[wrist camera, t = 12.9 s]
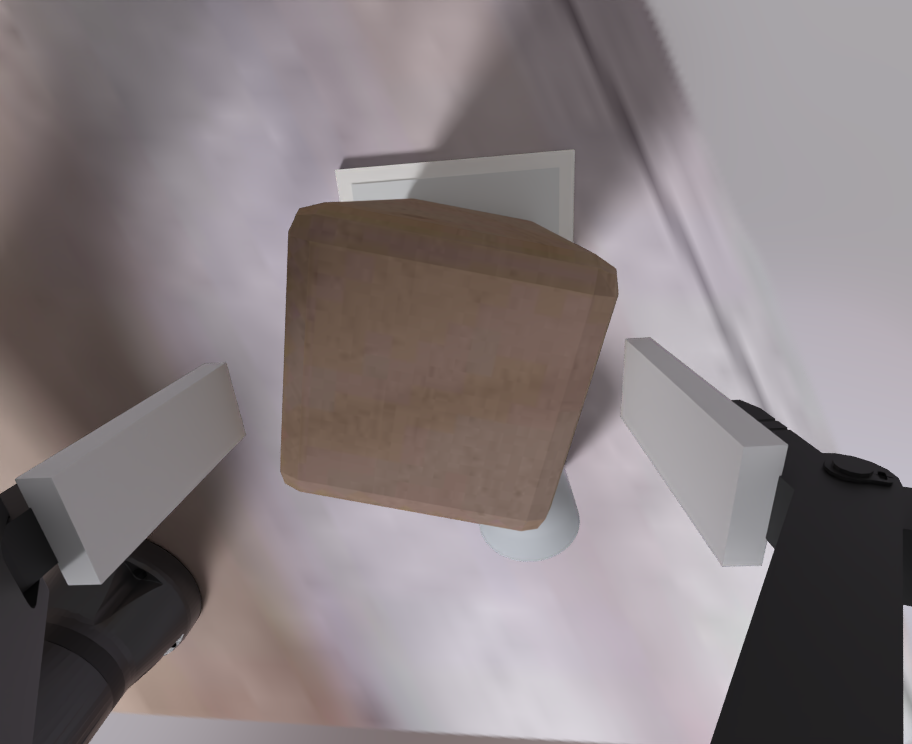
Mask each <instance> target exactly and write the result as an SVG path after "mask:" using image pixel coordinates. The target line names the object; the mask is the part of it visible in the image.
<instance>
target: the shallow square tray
mask: <svg viewBox="0 0 912 744" xmlns="http://www.w3.org/2000/svg"><path fill="white" fill-rule="evenodd" d="M574 173H575V149H571V150H559V151H548V152H536V153H525V154H513V155H501V156H490V157H478V158H467V159H455V160H444V161H432V162H420V163H409V164H397V165H386V166H374V167H363V168H351V169H339V170H335V174H336V181H337V187H338V193H339V200H340V202H346V201H367V200H389V199H410V198H414V199H419V200H424V201H430V202H435V203H440V204H445V205H450V206H456V207H461V208H466V209H471V210H477V211H482V212H487V213H492V214H497V215H503V216H508V217H513V218H518V219H524V220H529V221H532V222H534V223H536V224H538V225H540V226H542V227H544V228H546V229H548V230H550V231H552V232H554V233H556V234H557V235H559V236H561V237H563V238H565V239H567V240H569V241H571V242H573V221H574Z"/></svg>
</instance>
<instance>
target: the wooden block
mask: <svg viewBox="0 0 912 744" xmlns="http://www.w3.org/2000/svg"><path fill="white" fill-rule="evenodd" d="M617 298H618V282H617V271H616V268H614V267H613V266H612V265H610V264H609V263H607V262H606V261H604V260H603V259H602V258H600V257H599V256H597V255H596V254H594V253H592V252H590V251H588V250H586V249H584V248H583V247H581V246H579V245H577V244H575V243H573V242H571V241H569V240H567V239H565V238H563V237H561V236H559V235H557V234H556V233H554V232H552V231H550V230H548V229H546V228H544V227H542V226H540V225H538V224H536V223H534V222H532V221H529V220H524V219H518V218H513V217H508V216H503V215H497V214H492V213H487V212H482V211H477V210H471V209H466V208H461V207H456V206H450V205H445V204H440V203H435V202H430V201H424V200H419V199H414V198H410V199H389V200H367V201H346V202H324V203H320V204H316V205H312V206H308V207H303V208H299V210H298V212H297V214H296V216H295V218H294V221H293V223H292V225H291V227H290V229H289V231H288V257H287V287H286V316H285V345H284V374H283V403H282V432H281V465H280V471H281V474H282V477H283V479H284V482H285V483H286V484H287V485H289V486H291V487H293V488H294V489H296V490H298V491H300V492H306V493H312V494H317V495H323V496H328V497H334V498H339V499H345V500H350V501H356V502H361V503H367V504H373V505H378V506H384V507H389V508H395V509H400V510H406V511H411V512H417V513H422V514H428V515H433V516H439V517H445V518H450V519H456V520H461V521H467V522H472V523H478V524H483V525H489V526H494V527H500V528H506V529H511V530H517V531H526V530H533V529H538V527H539V526H540V525H541V524H542V523H543V521H544V520H545V519H546V517H547V515H548V512H549V510H550V508H551V505H552V502H553V499H554V496H555V493H556V489H557V486H558V483H559V480H560V477H561V474H562V471H563V467H564V464H565V461H566V458H567V455H568V452H569V449H570V445H571V442H572V439H573V436H574V433H575V430H576V426H577V423H578V420H579V417H580V414H581V411H582V408H583V404H584V401H585V398H586V395H587V392H588V389H589V386H590V382H591V379H592V376H593V373H594V370H595V367H596V364H597V360H598V357H599V354H600V351H601V348H602V345H603V342H604V338H605V335H606V332H607V329H608V326H609V323H610V320H611V316H612V313H613V310H614V307H615V304H616V301H617Z"/></svg>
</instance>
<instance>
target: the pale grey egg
mask: <svg viewBox="0 0 912 744" xmlns="http://www.w3.org/2000/svg"><path fill="white" fill-rule="evenodd" d="M579 523H580V520H579V513H578V509H577V506H576V503H575V499H574V496H573V493H572V490H571V486H570V483H569V480H568V476H567V473H566V470H565V467H563V471H562V474H561V477H560V480H559V483H558V486H557V489H556V493H555V496H554V499H553V502H552V505H551V508H550V510H549V512H548V515H547V517H546V519H545V520H544V521H543V523H542V524H541V525H540V526H539V527H538V529H533V530H526V531H517V530H511V529H506V528H500V527H494V526H489V525H483V524H479V526H480V531H481V534H482V536H483V538H484V540H485V541H486V543H487V544H488V545H489V546H490V547H491V548H492V549H493V550H494V551H495V552H497V553H498V554H500V555H502V556H504V557H506V558H509V559H512V560H516V561H523V562H534V561H541V560H545V559H549V558H551V557H554V556H556V555H557V554H559V553H561V552H562V551H564V550H565V549H566V548H567V547H568V546H569V545H570V544H571V543H572V542H573V540H574V539H575V537H576V535H577V533H578V529H579Z"/></svg>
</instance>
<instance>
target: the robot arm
mask: <svg viewBox="0 0 912 744" xmlns="http://www.w3.org/2000/svg"><path fill="white" fill-rule="evenodd" d="M620 417H621V418H622V420H623V421H624V423H625V424H626V426H627V427H628V429H629V430H630V432H631V433H632V434H633V436H634V437H635V439H636V440H637V442H638V443H639V445H640V446H641V448H642V449H643V451H644V452H645V454H646V455H647V457H648V458H649V460H650V461H651V462H652V464H653V465H654V467H655V468H656V470H657V471H658V473H659V474H660V476H661V477H662V479H663V480H664V482H665V483H666V485H667V486H668V488H669V489H670V491H671V492H672V493H673V495H674V496H675V498H676V499H677V501H678V502H679V504H680V505H681V507H682V508H683V510H684V511H685V513H686V514H687V516H688V517H689V519H690V520H691V521H692V523H693V524H694V526H695V527H696V529H697V530H698V532H699V533H700V535H701V536H702V538H703V539H704V541H705V542H706V544H707V545H708V547H709V548H710V549H711V551H712V552H713V554H714V555H715V557H716V558H717V560H718V561H719V563H720V564H721V566H722V567H730V566H762V563H763V558H764V553H765V549H766V544H767V541H768V542H769V543H770V544H771V545H772V546H773V548H774V549H775V550H774V553H773V556H772V559H771V562H770V565H769V568H768V571H767V574H766V577H765V580H764V583H763V586H762V589H761V592H760V595H759V598H758V601H757V604H756V607H755V610H754V613H753V617H752V620H751V623H750V626H749V629H748V632H747V635H746V638H745V641H744V644H743V647H742V650H741V653H740V656H739V659H738V662H737V665H736V668H735V671H734V674H733V677H732V680H731V683H730V686H729V689H728V692H727V695H726V698H725V701H724V704H723V707H722V710H721V713H720V716H719V719H718V722H717V725H716V728H715V731H714V734H713V737H712V740H711V743H710V744H903V605H907V606H912V488H908V487H903V486H902V484H901V482H900V480H899V478H898V477H896V476H895V475H894V474H893V473H891V472H890V471H889V470H887V469H885V468H883V467H881V466H879V465H877V464H875V463H872V462H870V461H866V460H863V459H860V458H857V457H853V456H848V455H842V454H836V453H821V452H820V451H819V450H817V449H816V448H814V447H813V446H812V445H810V444H809V443H808V442H806V441H805V440H803V439H802V438H801V437H799V436H798V435H797V434H795V433H794V432H792V431H791V430H787V427H786V426H784V425H783V424H781V423H780V422H779V421H775V418H773V417H772V416H770V415H769V414H768V413H766V412H765V411H764V410H762V409H761V408H758V407H756V406H754V405H751V404H749V403H746V402H744V401H741V400H730V399H729V398H727V397H726V396H725V395H724V394H722V393H721V392H720V391H718V390H717V389H716V388H715V387H713V386H712V385H711V384H709V383H708V382H707V381H706V380H704V379H703V378H702V377H700V376H699V375H698V374H697V373H695V372H694V371H693V370H691V369H690V368H689V367H688V366H686V365H685V364H684V363H682V362H681V361H680V360H679V359H677V358H676V357H675V356H673V355H672V354H671V353H670V352H668V351H667V350H666V349H664V348H663V347H662V346H661V345H659V344H658V343H657V342H655V341H654V340H653V339H652V338H650V337H648V338H631V339H625V354H624V369H623V385H622V400H621V416H620ZM245 435H246V433H245V430H244V426H243V422H242V419H241V415H240V411H239V408H238V404H237V400H236V397H235V393H234V390H233V386H232V382H231V379H230V375H229V371H228V368H227V364H226V362H225V363H208V364H203V365H201V366H200V367H198V368H196V369H195V370H193V371H191V372H190V373H188V374H186V375H185V376H183V377H181V378H180V379H178V380H177V381H175V382H173V383H172V384H170V385H168V386H167V387H165V388H163V389H162V390H160V391H158V392H157V393H155V394H154V395H152V396H150V397H149V398H147V399H145V400H144V401H142V402H140V403H139V404H137V405H135V406H134V407H132V408H131V409H129V410H127V411H126V412H124V413H122V414H121V415H119V416H117V417H116V418H114V419H112V420H111V421H109V422H108V423H106V424H104V425H103V426H101V427H99V428H98V429H96V430H94V431H93V432H91V433H89V434H88V435H86V436H85V437H83V438H81V439H80V440H78V441H76V442H75V443H73V444H71V445H70V446H68V447H66V448H65V449H63V450H62V451H60V452H58V453H57V454H55V455H53V456H52V457H50V458H48V459H47V460H45V461H43V462H42V463H40V464H39V465H37V466H35V467H34V468H32V469H30V470H29V471H27V472H25V473H24V474H22V475H20V476H19V477H17V478H16V479H15V481H16V483H17V484H15V485H14V486H12V487H11V488H9V489H7V490H6V491H4V492H2V493H1V494H0V744H88V743H89V742H90V741H91V739H92V738H93V736H94V735H95V733H96V732H97V731H98V729H99V728H100V727H101V725H102V724H103V722H104V721H105V719H106V718H107V717H108V715H109V714H110V712H111V711H112V710H113V708H114V707H115V705H116V704H117V703H118V701H119V700H120V698H121V697H122V696H123V694H124V693H125V692H126V690H127V689H128V688H129V687H131V686H132V685H133V684H134V683H135V682H136V681H138V680H139V679H140V678H141V677H142V676H143V675H144V674H146V673H147V672H148V671H149V670H150V669H151V668H152V667H153V666H154V665H155V664H156V663H157V662H158V661H159V660H160V659H161V658H162V657H163V656H165V655H167V654H168V653H170V652H171V651H173V650H174V649H175V648H176V647H177V646H178V645H179V644H180V643H181V642H182V641H183V640H184V639H185V637H186V636H187V634H188V633H189V631H190V630H191V628H192V627H193V625H194V624H195V622H196V621H197V619H198V617H199V615H200V611H201V596H200V592H199V589H198V587H197V584H196V582H195V580H194V579H193V577H192V576H191V574H190V573H189V571H188V570H187V569H186V568H185V567H184V566H183V565H182V564H181V563H180V562H179V561H178V560H177V559H176V558H175V557H174V556H172V555H171V554H170V553H168V552H167V551H165V550H164V549H162V548H160V547H159V546H157V545H155V544H153V543H151V542H149V541H146V540H145V539H146V538H147V537H148V536H149V535H150V534H151V533H152V532H153V531H154V529H155V528H156V527H157V526H158V525H159V524H160V523H161V522H162V521H163V520H164V519H165V518H166V517H167V516H168V515H169V514H170V513H171V512H172V511H173V510H174V509H175V508H176V507H177V506H178V505H179V504H180V503H181V502H182V501H183V500H184V498H185V497H186V496H187V495H188V494H189V493H190V492H191V491H192V490H193V489H194V488H195V487H196V486H197V485H198V484H199V483H200V482H201V481H202V480H203V479H204V478H205V477H206V476H207V475H208V474H209V473H210V472H211V471H212V470H213V469H214V467H215V466H216V465H217V464H218V463H219V462H220V461H221V460H222V459H223V458H224V457H225V456H226V455H227V454H228V453H229V452H230V451H231V450H232V449H233V448H234V447H235V446H236V445H237V444H238V443H239V442H240V441H241V440H242V439H243V437H244V436H245Z"/></svg>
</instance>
